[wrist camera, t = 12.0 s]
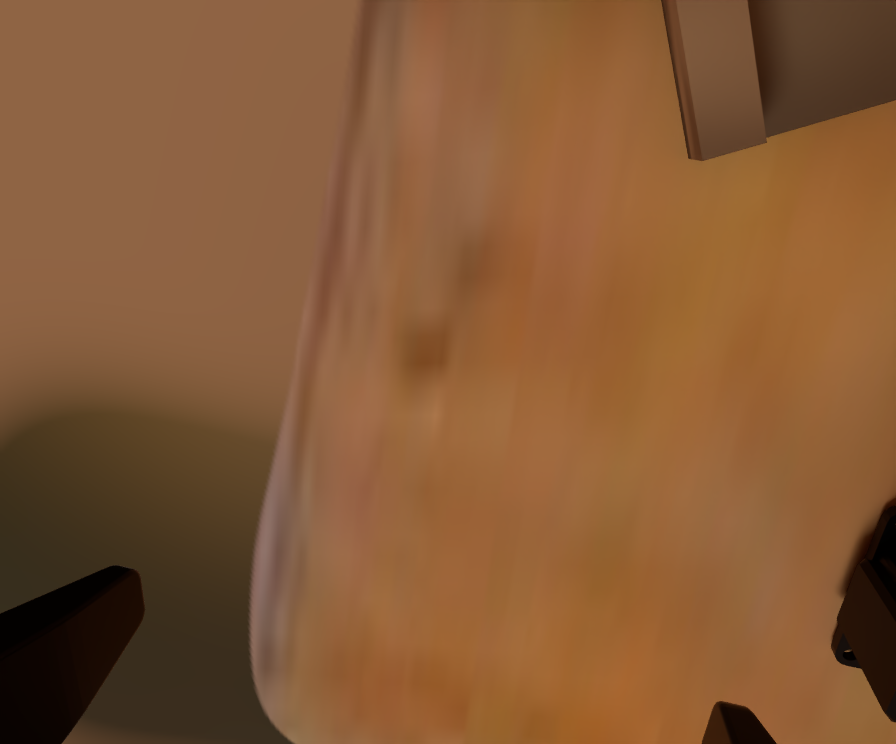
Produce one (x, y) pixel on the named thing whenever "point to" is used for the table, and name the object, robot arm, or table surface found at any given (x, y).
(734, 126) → the walnut u rest
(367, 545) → the table surface
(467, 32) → the table surface
